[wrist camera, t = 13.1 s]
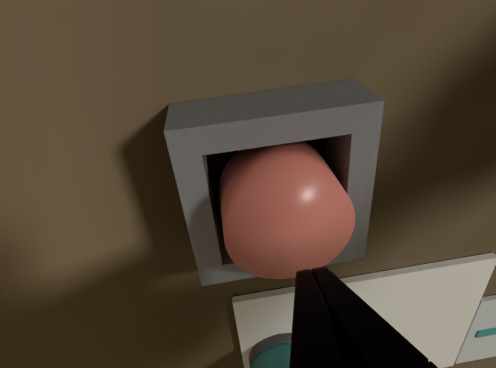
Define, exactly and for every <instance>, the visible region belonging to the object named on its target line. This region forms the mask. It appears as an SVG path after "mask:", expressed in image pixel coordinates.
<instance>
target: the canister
mask: <svg viewBox="0 0 496 368" xmlns="http://www.w3.org/2000/svg"><path fill="white" fill-rule="evenodd" d="M291 335H292V333H282V334H277V335H273V336H270V337H268V338H265V339H263V340H262V341H260V342H259V343H257V344H256V345H255V346H254V347H253V348H252V350H251V351H250V353H249V365H250V368H289V363H290V349H291Z"/></svg>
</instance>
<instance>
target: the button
mask: <svg viewBox="0 0 496 368" xmlns="http://www.w3.org/2000/svg"><path fill="white" fill-rule="evenodd" d="M219 197H220V206H221V216H222V225H223V235H224V243H225V247H226V250H227V252H228V254H229V256H230V258H231V259H232V261H233V262H234V263H235V264H236V265H237V266H239V267H240V268H241V269H242V270H244V271H246V272H248V273H250V274H252V275H255V276H258V277H262V278H267V279H289V278H295V277H296V272H297V271H298V270H304V269H310V270H311V269H312V268H316V267H322V266H325V265H326V264H328V263H329V262H331V261H332V260H333V259H334V258H335V257H337V256H338V255H339V254H340V253H341V251H342V250H343V249H344V248H345V246H346V245H347V243H348V242H349V240H350V238H351V236H352V233H353V230H354V226H355V211H354V207H353V204H352V201H351V200H350V198H349V196H348V195H347V193H346V192H345V190H344V189H343V187H342V186H341V184H340V183H339V181H338V180H337V178H336V177H335V175H334V174H333V172H332V171H331V169H330V168H329V166H328V165H327V163H326V162H325V160H324V159H323V157H322V156H321V155H320V153H319V152H318V151H317V150H316V149H315V148H314V147H313V146H311V145H310V144H308V143H307V142H304V141H299V142H293V143H286V144H279V145H272V146H265V147H258V148H251V149H244V150H239V151H238V152H236V153H235V154H234V155H233V156H232V157H231V159H230V160H229V161H228V163H227V164H226V166H225V167H224V169H223V172H222V174H221V177H220V181H219Z"/></svg>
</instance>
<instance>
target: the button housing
mask: <svg viewBox="0 0 496 368" xmlns="http://www.w3.org/2000/svg"><path fill="white" fill-rule="evenodd" d="M384 102H385V101H384V100H383V99H381V98H380V97H379V96H377V95H376V94H374V93H373V92H371V91H370V90H369V89H367V88H366V87H364V86H363V85H361V84H360V83H359V82H357V81H356V80H354V79H352V80H345V81H337V82H330V83H323V84H315V85H308V86H300V87H293V88H285V89H278V90H271V91H263V92H256V93H248V94H241V95H233V96H226V97H219V98H211V99H204V100H196V101H189V102H181V103H174V104H169V106H168V112H167V117H166V122H165V127H164V135H165V139H166V143H167V147H168V151H169V155H170V159H171V163H172V167H173V171H174V175H175V179H176V183H177V188H178V192H179V196H180V200H181V204H182V208H183V212H184V216H185V220H186V224H187V228H188V232H189V236H190V240H191V244H192V248H193V252H194V256H195V260H196V265H197V269H198V273H199V277H200V281H201V285H202V286H206V285H212V284H218V283H224V282H230V281H235V280H241V279H247V278H253V277H258V276H255V275H252V274H250V273H248V272H246V271H244V270H242V269H241V268H240V267H239V266H237V265H236V264H235V263H234V262H233V261H232V259H231V258H230V256H229V254H228V252H227V250H226V247H225V243H224V235H223V225H222V226H219V224H218V219H217V213H216V208H215V202H214V196H213V191H212V185H211V180H210V174H209V169H208V163H207V158H206V155H209V154H216V153H223V152H230V151H237V150H244V149H251V148H258V147H265V146H272V145H279V144H286V143H293V142H299V141H306V140H313V139H320V138H326V163H327V165H328V166H329V168H330V169H331V171H332V172H333V174H334V175H335V177H336V178H337V180H338V181H339V183H340V184H341V186H342V187H343V189H344V190H345V192H346V193H347V195H348V196H349V198H350V200H351V201H352V204H353V207H354V211H355V226H354V230H353V233H352V236H351V238H350V240H349V242H348V243H347V245H346V246H345V248H344V249H343V250H342V251H341V253H340V254H339V255H338V256H337V257H335V258H334V259H333V260H332V261H331V262H329V263H328V264H326V265H331V264H337V263H343V262H349V261H355V260H361V259H365V252H366V244H367V236H368V228H369V220H370V212H371V205H372V197H373V189H374V181H375V173H376V165H377V157H378V149H379V141H380V133H381V126H382V118H383V110H384Z"/></svg>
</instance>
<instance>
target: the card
mask: <svg viewBox="0 0 496 368" xmlns="http://www.w3.org/2000/svg"><path fill="white" fill-rule="evenodd" d="M494 356H496V295H492V296H487V297H482V298H481V300H480V303H479V305H478V307H477V310H476V312H475V315H474V317H473V319H472V322H471V324H470V326H469V329H468V331H467V334H466V336H465V338H464V341H463V343H462V346H461V348H460V350H459V353H458V355H457V357H456V360H455V364H457V363H462V362H467V361H473V360H478V359H483V358H489V357H494Z"/></svg>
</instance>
